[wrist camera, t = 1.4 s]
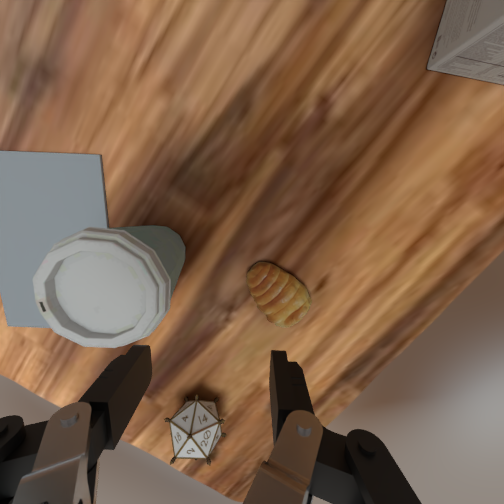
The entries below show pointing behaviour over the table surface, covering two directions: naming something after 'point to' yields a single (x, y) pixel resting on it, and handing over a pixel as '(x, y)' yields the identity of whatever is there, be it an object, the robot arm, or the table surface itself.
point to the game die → (195, 429)
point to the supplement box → (471, 40)
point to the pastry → (278, 294)
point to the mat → (42, 219)
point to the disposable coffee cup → (109, 283)
